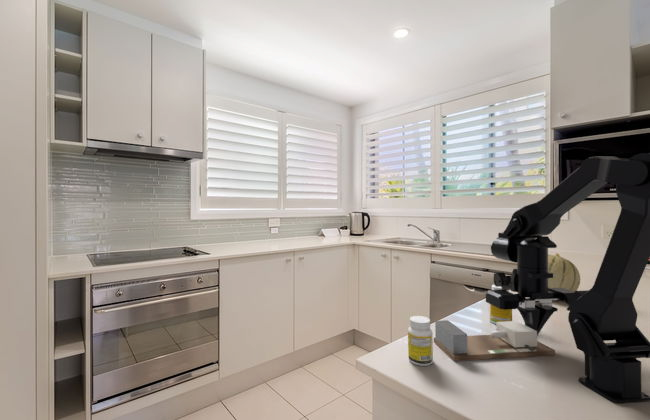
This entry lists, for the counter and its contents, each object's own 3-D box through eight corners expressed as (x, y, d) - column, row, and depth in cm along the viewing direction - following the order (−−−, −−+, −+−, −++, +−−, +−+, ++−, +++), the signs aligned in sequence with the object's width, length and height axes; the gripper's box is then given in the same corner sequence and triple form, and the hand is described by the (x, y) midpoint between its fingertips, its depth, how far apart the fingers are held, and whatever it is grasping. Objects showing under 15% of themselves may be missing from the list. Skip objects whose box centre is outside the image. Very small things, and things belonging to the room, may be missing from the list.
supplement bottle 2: (515, 327, 79) (515, 289, 79) (492, 325, 80) (492, 288, 80) (507, 319, 84) (507, 284, 84) (486, 318, 85) (486, 283, 85)
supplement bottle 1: (414, 353, 65) (413, 313, 65) (436, 359, 62) (436, 318, 62) (404, 361, 62) (403, 319, 62) (427, 369, 59) (427, 325, 59)
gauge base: (523, 337, 73) (523, 332, 73) (555, 355, 64) (555, 349, 64) (433, 341, 71) (433, 336, 71) (453, 361, 62) (453, 355, 62)
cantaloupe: (520, 297, 105) (520, 253, 105) (532, 289, 115) (532, 249, 115) (576, 307, 94) (575, 258, 94) (584, 298, 104) (583, 253, 104)
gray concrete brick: (448, 337, 70) (447, 320, 70) (467, 354, 63) (467, 334, 63) (435, 338, 70) (435, 320, 70) (453, 354, 62) (453, 335, 62)
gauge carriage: (516, 334, 71) (516, 321, 71) (544, 350, 63) (544, 335, 63) (484, 336, 70) (483, 322, 70) (508, 352, 62) (507, 336, 62)
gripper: (543, 259, 77) (543, 321, 77) (471, 261, 75) (472, 325, 75) (584, 267, 66) (584, 340, 66) (501, 270, 64) (502, 344, 64)
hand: (533, 336), depth 68 cm, fingers closed
